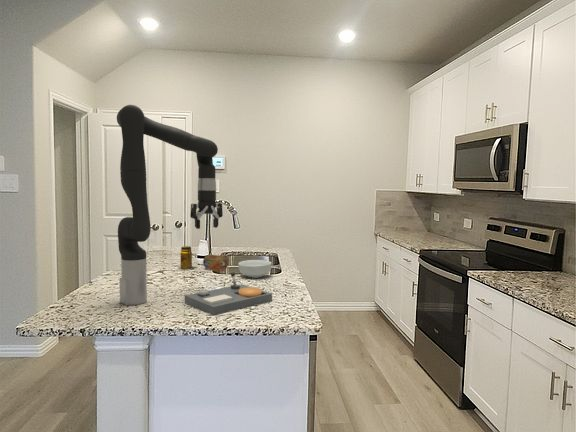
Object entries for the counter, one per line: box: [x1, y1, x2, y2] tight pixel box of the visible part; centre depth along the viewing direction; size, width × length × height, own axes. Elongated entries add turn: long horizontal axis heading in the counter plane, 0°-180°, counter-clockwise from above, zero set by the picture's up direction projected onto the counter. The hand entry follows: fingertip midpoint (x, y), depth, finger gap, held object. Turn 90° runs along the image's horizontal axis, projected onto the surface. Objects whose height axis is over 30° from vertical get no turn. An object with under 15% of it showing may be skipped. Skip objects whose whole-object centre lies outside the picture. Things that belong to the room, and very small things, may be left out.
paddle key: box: [203, 294, 233, 304], centre depth 157 cm, size 10×5×2 cm, turn 134°
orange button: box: [239, 286, 263, 298], centre depth 167 cm, size 9×9×2 cm
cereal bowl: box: [238, 259, 273, 279], centre depth 212 cm, size 17×17×7 cm
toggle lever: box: [230, 271, 237, 285], centre depth 175 cm, size 2×2×6 cm
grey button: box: [198, 289, 209, 296], centre depth 164 cm, size 4×4×2 cm
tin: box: [202, 254, 229, 272], centre depth 225 cm, size 15×3×8 cm, turn 62°
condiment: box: [178, 245, 197, 271], centre depth 228 cm, size 7×8×12 cm
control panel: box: [184, 284, 273, 316], centre depth 165 cm, size 28×20×4 cm
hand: (206, 228), depth 175 cm, fingers open, 8 cm apart
